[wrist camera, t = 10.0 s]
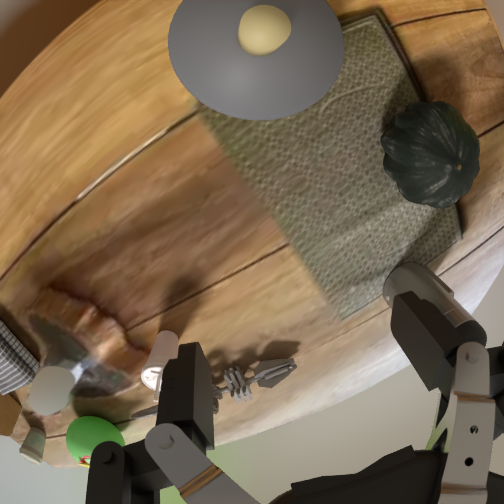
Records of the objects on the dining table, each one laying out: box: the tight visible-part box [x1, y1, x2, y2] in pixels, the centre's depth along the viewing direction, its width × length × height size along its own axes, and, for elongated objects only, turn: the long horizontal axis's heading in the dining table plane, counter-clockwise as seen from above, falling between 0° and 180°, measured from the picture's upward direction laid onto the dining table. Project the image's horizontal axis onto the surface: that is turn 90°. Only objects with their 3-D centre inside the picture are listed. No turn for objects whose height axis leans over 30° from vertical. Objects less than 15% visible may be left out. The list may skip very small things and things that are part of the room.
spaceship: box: [131, 358, 297, 419], centre depth 51 cm, size 8×35×8 cm
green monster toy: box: [66, 416, 125, 468], centre depth 54 cm, size 18×17×15 cm
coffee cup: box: [19, 427, 46, 465], centre depth 58 cm, size 8×9×12 cm
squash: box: [380, 101, 480, 208], centre depth 33 cm, size 14×15×15 cm
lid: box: [168, 0, 344, 120], centre depth 22 cm, size 18×18×6 cm
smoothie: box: [141, 330, 179, 402], centre depth 42 cm, size 6×6×14 cm
